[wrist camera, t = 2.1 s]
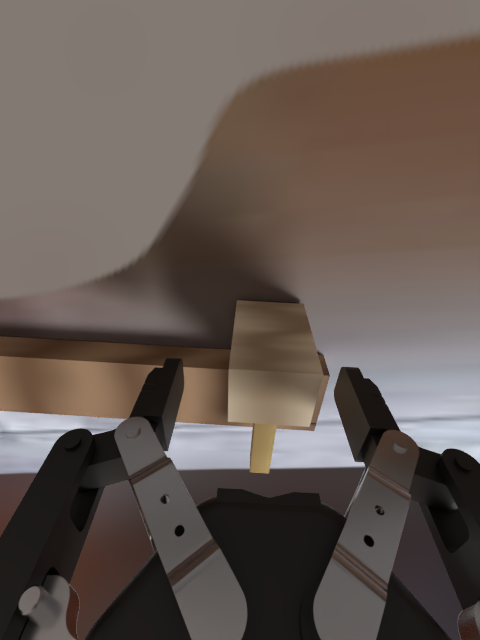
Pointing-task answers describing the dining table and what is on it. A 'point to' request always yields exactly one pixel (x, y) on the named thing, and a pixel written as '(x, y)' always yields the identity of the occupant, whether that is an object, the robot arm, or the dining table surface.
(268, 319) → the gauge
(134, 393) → the board
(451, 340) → the dining table surface
